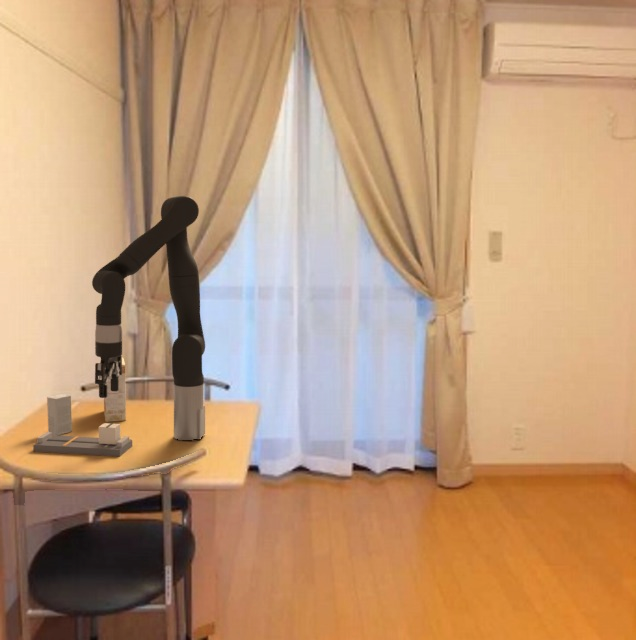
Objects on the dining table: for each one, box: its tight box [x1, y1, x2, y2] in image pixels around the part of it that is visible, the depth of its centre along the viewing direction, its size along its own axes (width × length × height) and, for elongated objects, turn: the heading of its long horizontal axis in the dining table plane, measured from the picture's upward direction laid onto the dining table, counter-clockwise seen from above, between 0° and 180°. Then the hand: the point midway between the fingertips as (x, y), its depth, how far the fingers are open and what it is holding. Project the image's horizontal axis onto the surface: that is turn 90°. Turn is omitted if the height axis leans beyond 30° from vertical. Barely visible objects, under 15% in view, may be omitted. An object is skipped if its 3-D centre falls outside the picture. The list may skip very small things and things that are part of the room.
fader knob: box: [98, 422, 122, 444], centre depth 208 cm, size 5×4×5 cm
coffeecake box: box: [103, 356, 127, 423], centre depth 245 cm, size 15×7×20 cm, turn 18°
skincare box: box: [46, 393, 73, 436], centre depth 224 cm, size 6×4×12 cm
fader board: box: [32, 431, 133, 457], centre depth 209 cm, size 26×10×4 cm, turn 85°
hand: (109, 394), depth 207 cm, fingers open, 8 cm apart
